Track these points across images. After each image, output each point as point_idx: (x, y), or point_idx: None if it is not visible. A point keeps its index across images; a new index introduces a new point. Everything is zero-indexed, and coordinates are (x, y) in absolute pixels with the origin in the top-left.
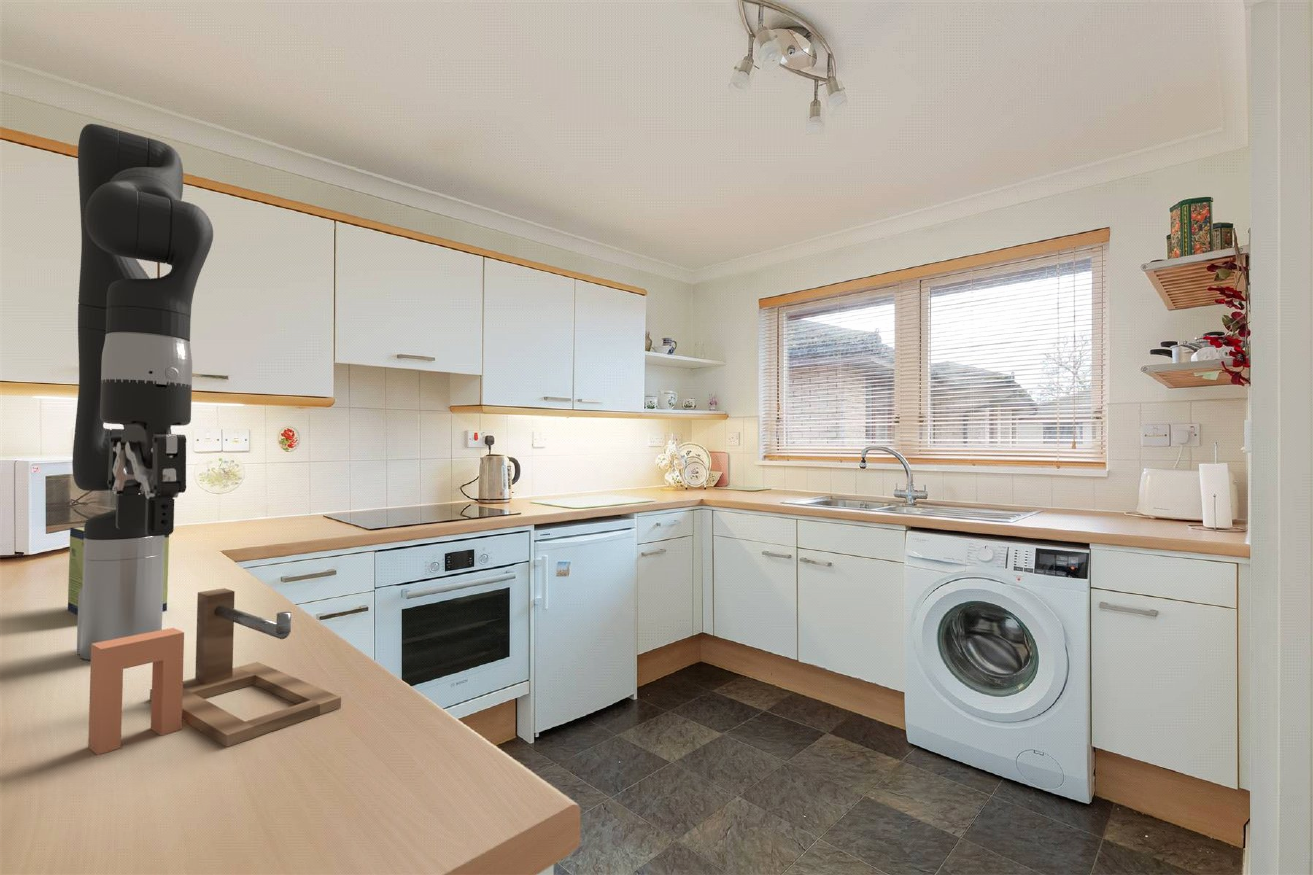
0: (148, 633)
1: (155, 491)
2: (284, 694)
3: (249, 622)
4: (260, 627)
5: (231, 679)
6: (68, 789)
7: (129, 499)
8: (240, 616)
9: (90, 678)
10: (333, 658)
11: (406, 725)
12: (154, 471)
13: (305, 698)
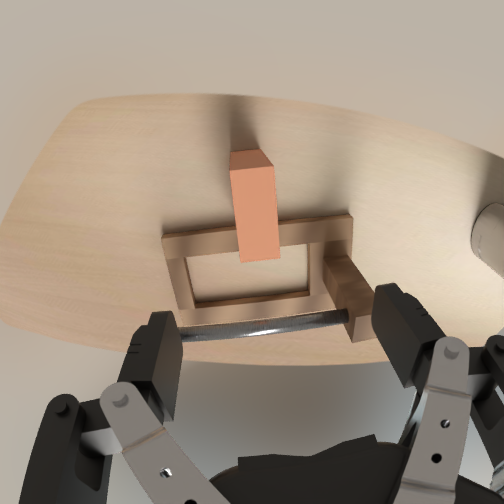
0: (273, 229)
1: (59, 398)
2: (246, 300)
3: (245, 325)
4: (213, 327)
5: (316, 278)
6: (169, 127)
7: (408, 355)
8: (275, 324)
9: (266, 158)
10: (317, 351)
11: (117, 332)
12: (50, 454)
13: (204, 307)
